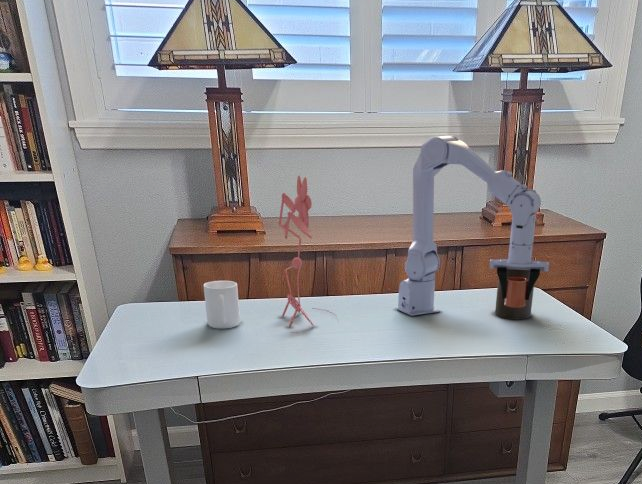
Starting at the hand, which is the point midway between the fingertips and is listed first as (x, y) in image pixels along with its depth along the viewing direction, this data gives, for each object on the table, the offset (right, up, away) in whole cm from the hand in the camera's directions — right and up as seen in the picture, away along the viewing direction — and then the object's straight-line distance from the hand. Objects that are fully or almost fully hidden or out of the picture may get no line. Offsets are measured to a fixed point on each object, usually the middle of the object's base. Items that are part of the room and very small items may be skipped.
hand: (515, 298), depth 180 cm
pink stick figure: (-53, -5, +5) cm, 53 cm away
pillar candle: (+2, -2, +13) cm, 13 cm away
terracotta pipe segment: (0, -2, +1) cm, 2 cm away
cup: (-75, -8, -1) cm, 75 cm away
